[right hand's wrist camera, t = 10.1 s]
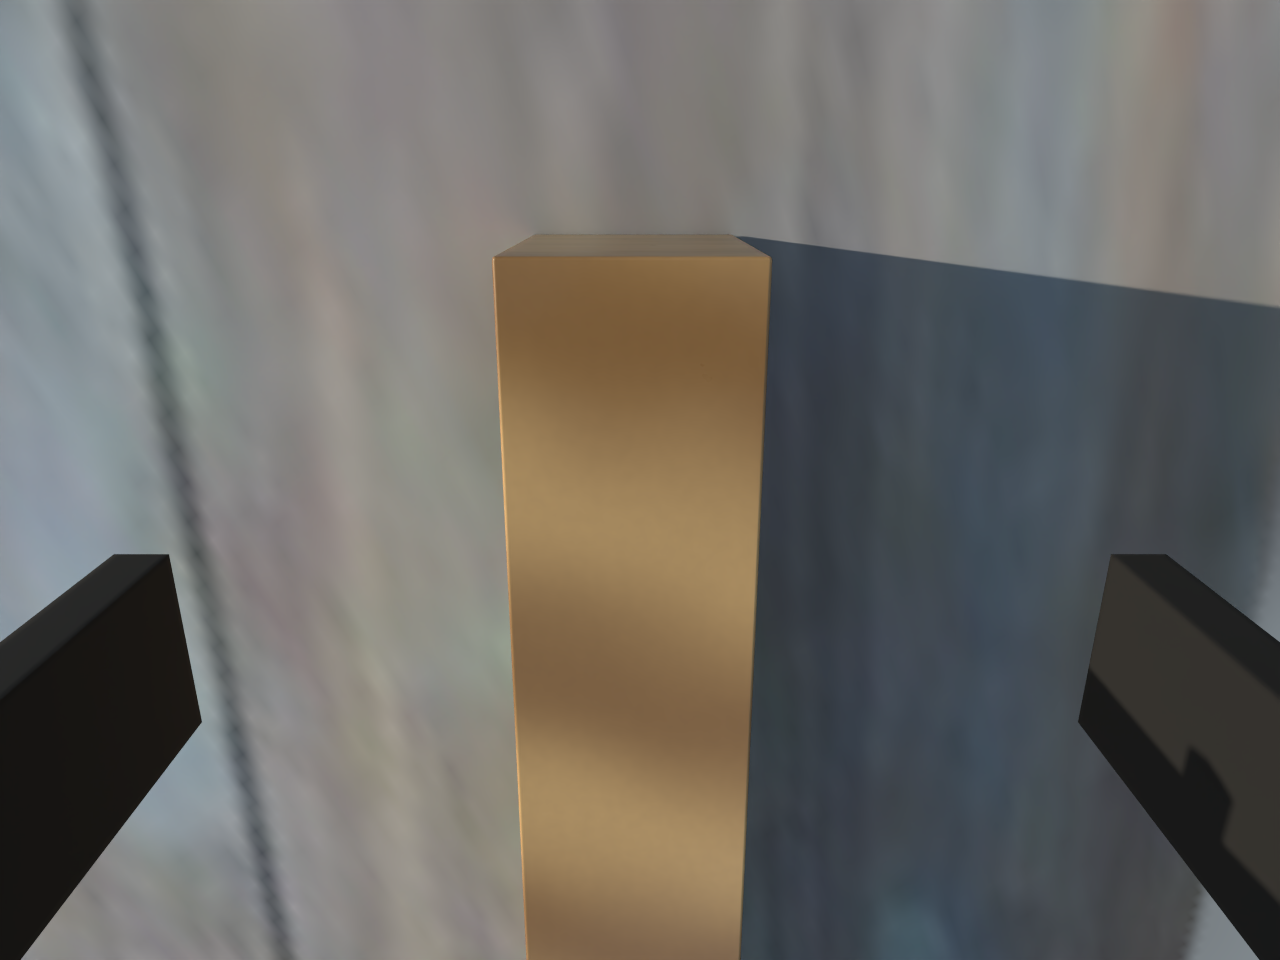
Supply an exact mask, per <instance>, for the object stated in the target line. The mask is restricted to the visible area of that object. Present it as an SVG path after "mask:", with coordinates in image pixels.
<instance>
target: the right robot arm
mask: <svg viewBox="0 0 1280 960" xmlns="http://www.w3.org/2000/svg"><path fill="white" fill-rule="evenodd" d="M201 722H202V720H201V715H200V710H199V705H198V700H197V695H196V690H195V685H194V680H193V674H192V669H191V664H190V659H189V654H188V649H187V644H186V639H185V634H184V629H183V624H182V619H181V614H180V608H179V603H178V598H177V593H176V588H175V583H174V578H173V573H172V568H171V563H170V558H169V554H114V555H112V556H111V557H110V558H109V559H107V560H106V561H105V562H103V563H102V564H101V565H100V566H98V567H97V568H96V569H94V570H93V571H92V572H91V573H89V574H88V575H87V576H85V577H84V578H83V579H81V580H80V581H79V582H78V583H76V584H75V585H74V586H72V587H71V588H70V589H69V590H67V591H66V592H65V593H63V594H62V595H61V596H59V597H58V598H57V599H56V600H54V601H53V602H52V603H50V604H49V605H48V606H47V607H45V608H44V609H43V610H41V611H40V612H39V613H37V614H36V615H35V616H34V617H32V618H31V619H30V620H28V621H27V622H26V623H25V624H23V625H22V626H21V627H19V628H18V629H17V630H16V631H14V632H13V633H12V634H10V635H9V636H8V637H6V638H5V639H4V640H3V641H1V642H0V960H21V958H22V957H23V956H24V955H25V953H26V952H27V951H28V949H29V948H30V947H31V945H32V944H33V943H34V941H35V940H36V939H37V938H38V936H39V935H40V934H41V932H42V931H43V930H44V928H45V927H46V926H47V924H48V923H49V922H50V920H51V919H52V918H53V917H54V915H55V914H56V913H57V911H58V910H59V909H60V907H61V906H62V905H63V903H64V902H65V901H66V899H67V898H68V897H69V896H70V894H71V893H72V892H73V890H74V889H75V888H76V886H77V885H78V884H79V882H80V881H81V880H82V879H83V877H84V876H85V875H86V873H87V872H88V871H89V869H90V868H91V867H92V865H93V864H94V863H95V861H96V860H97V859H98V858H99V856H100V855H101V854H102V852H103V851H104V850H105V848H106V847H107V846H108V844H109V843H110V842H111V840H112V839H113V838H114V837H115V835H116V834H117V833H118V831H119V830H120V829H121V827H122V826H123V825H124V823H125V822H126V821H127V820H128V818H129V817H130V816H131V814H132V813H133V812H134V810H135V809H136V808H137V806H138V805H139V804H140V802H141V801H142V800H143V799H144V797H145V796H146V795H147V793H148V792H149V791H150V789H151V788H152V787H153V785H154V784H155V783H156V781H157V780H158V779H159V778H160V776H161V775H162V774H163V772H164V771H165V770H166V768H167V767H168V766H169V764H170V763H171V762H172V761H173V759H174V758H175V757H176V755H177V754H178V753H179V751H180V750H181V749H182V747H183V746H184V745H185V743H186V742H187V741H188V740H189V738H190V737H191V736H192V734H193V733H194V732H195V730H196V729H197V728H198V726H199V725H200V724H201ZM1078 722H1079V724H1080V725H1081V726H1082V728H1083V729H1084V730H1085V732H1086V733H1087V734H1088V736H1089V737H1090V738H1091V740H1092V741H1093V742H1094V743H1095V745H1096V746H1097V747H1098V749H1099V750H1100V751H1101V753H1102V754H1103V755H1104V757H1105V758H1106V759H1107V761H1108V762H1109V763H1110V764H1111V766H1112V767H1113V768H1114V770H1115V771H1116V772H1117V774H1118V775H1119V776H1120V778H1121V779H1122V780H1123V781H1124V783H1125V784H1126V785H1127V787H1128V788H1129V789H1130V791H1131V792H1132V793H1133V795H1134V796H1135V797H1136V799H1137V800H1138V801H1139V802H1140V804H1141V805H1142V806H1143V808H1144V809H1145V810H1146V812H1147V813H1148V814H1149V816H1150V817H1151V818H1152V820H1153V821H1154V822H1155V823H1156V825H1157V826H1158V827H1159V829H1160V830H1161V831H1162V833H1163V834H1164V835H1165V837H1166V838H1167V839H1168V840H1169V842H1170V843H1171V844H1172V846H1173V847H1174V848H1175V850H1176V851H1177V852H1178V854H1179V855H1180V856H1181V858H1182V859H1183V860H1184V861H1185V863H1186V864H1187V865H1188V867H1189V868H1190V869H1191V871H1192V872H1193V873H1194V875H1195V876H1196V877H1197V879H1198V880H1199V881H1200V882H1201V884H1202V885H1203V886H1204V888H1205V889H1206V890H1207V892H1208V893H1209V894H1210V896H1211V897H1212V898H1213V899H1214V901H1215V902H1216V903H1217V905H1218V906H1219V907H1220V909H1221V910H1222V911H1223V913H1224V914H1225V915H1226V917H1227V918H1228V919H1229V920H1230V922H1231V923H1232V924H1233V926H1234V927H1235V928H1236V930H1237V931H1238V932H1239V934H1240V935H1241V936H1242V938H1243V939H1244V940H1245V941H1246V943H1247V944H1248V945H1249V947H1250V948H1251V949H1252V951H1253V952H1254V953H1255V955H1256V956H1257V957H1258V958H1259V960H1280V642H1279V641H1277V640H1276V639H1275V638H1274V637H1272V636H1271V635H1270V634H1268V633H1267V632H1266V631H1264V630H1263V629H1262V628H1261V627H1259V626H1258V625H1257V624H1255V623H1254V622H1253V621H1252V620H1250V619H1249V618H1248V617H1246V616H1245V615H1244V614H1243V613H1241V612H1240V611H1239V610H1237V609H1236V608H1235V607H1233V606H1232V605H1231V604H1230V603H1228V602H1227V601H1226V600H1224V599H1223V598H1222V597H1221V596H1219V595H1218V594H1217V593H1215V592H1214V591H1213V590H1211V589H1210V588H1209V587H1208V586H1206V585H1205V584H1204V583H1202V582H1201V581H1200V580H1199V579H1197V578H1196V577H1195V576H1193V575H1192V574H1191V573H1189V572H1188V571H1187V570H1186V569H1184V568H1183V567H1182V566H1180V565H1179V564H1178V563H1177V562H1175V561H1174V560H1173V559H1171V558H1170V557H1169V556H1168V555H1166V554H1111V558H1110V563H1109V568H1108V573H1107V578H1106V583H1105V588H1104V593H1103V598H1102V603H1101V608H1100V614H1099V619H1098V624H1097V629H1096V634H1095V639H1094V644H1093V649H1092V654H1091V659H1090V664H1089V669H1088V674H1087V680H1086V685H1085V690H1084V695H1083V700H1082V705H1081V710H1080V715H1079V720H1078Z"/></svg>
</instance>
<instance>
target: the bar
mask: <svg viewBox="0 0 1280 960" xmlns="http://www.w3.org/2000/svg"><path fill="white" fill-rule="evenodd" d="M492 269H493V289H494V310H495V330H496V350H497V370H498V391H499V411H500V431H501V451H502V472H503V492H504V512H505V532H506V553H507V573H508V593H509V613H510V634H511V654H512V674H513V694H514V715H515V735H516V755H517V775H518V796H519V816H520V836H521V856H522V877H523V897H524V917H525V937H526V958H527V960H741V938H742V916H743V894H744V872H745V850H746V828H747V806H748V784H749V762H750V740H751V718H752V695H753V673H754V651H755V629H756V607H757V585H758V563H759V541H760V519H761V497H762V475H763V453H764V431H765V409H766V387H767V365H768V343H769V321H770V299H771V277H772V258H771V257H770V256H768V255H766V254H765V253H763V252H761V251H759V250H757V249H756V248H754V247H752V246H750V245H749V244H747V243H745V242H743V241H742V240H740V239H738V238H736V237H735V236H733V235H533V236H532V237H530V238H528V239H526V240H524V241H522V242H520V243H519V244H517V245H515V246H513V247H511V248H509V249H507V250H506V251H504V252H502V253H500V254H498V255H496V256H494V257H493V259H492Z"/></svg>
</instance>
